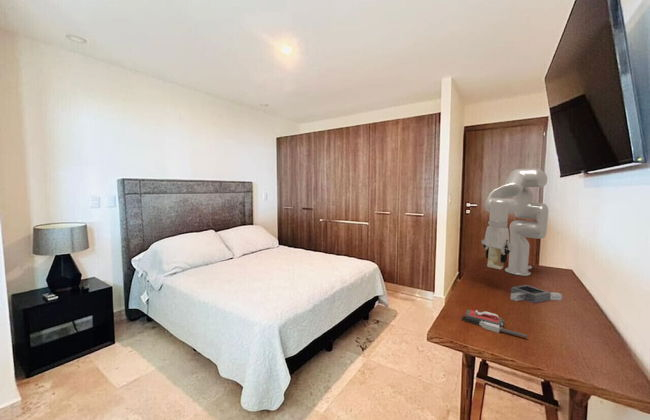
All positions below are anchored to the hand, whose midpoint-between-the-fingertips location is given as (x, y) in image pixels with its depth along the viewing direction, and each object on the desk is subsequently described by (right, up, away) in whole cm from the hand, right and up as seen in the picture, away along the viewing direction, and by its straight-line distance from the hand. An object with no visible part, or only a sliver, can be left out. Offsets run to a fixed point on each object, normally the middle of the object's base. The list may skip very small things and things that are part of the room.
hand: (495, 259), depth 136 cm
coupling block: (+10, -16, -9) cm, 21 cm away
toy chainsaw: (-24, -18, -37) cm, 47 cm away
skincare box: (0, -4, 0) cm, 4 cm away
